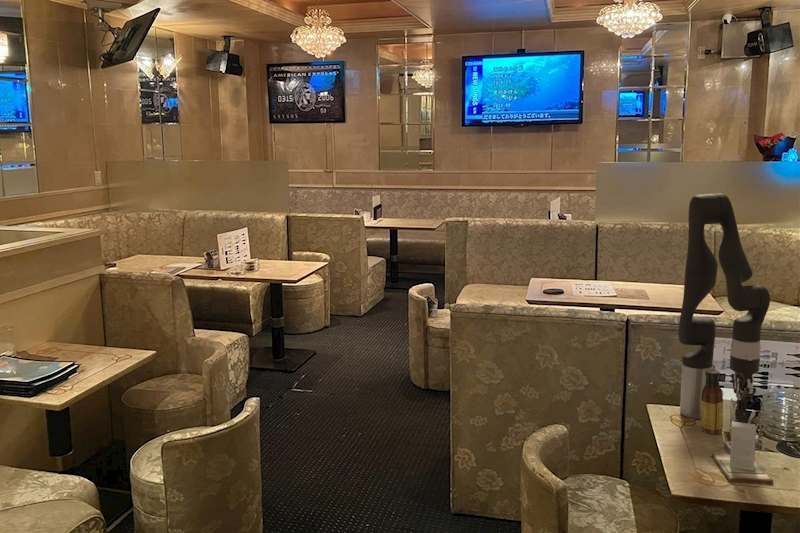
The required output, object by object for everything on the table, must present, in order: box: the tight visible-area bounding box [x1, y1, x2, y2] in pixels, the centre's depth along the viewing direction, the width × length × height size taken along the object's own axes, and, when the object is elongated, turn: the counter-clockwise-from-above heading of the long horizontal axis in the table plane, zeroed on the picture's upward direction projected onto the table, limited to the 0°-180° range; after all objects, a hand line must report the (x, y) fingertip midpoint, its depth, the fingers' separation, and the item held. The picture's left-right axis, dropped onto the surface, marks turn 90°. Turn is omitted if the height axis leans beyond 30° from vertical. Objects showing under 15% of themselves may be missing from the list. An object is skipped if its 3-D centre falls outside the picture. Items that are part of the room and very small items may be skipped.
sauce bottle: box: [700, 368, 724, 435], centre depth 208 cm, size 7×6×20 cm
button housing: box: [723, 441, 731, 454], centre depth 194 cm, size 6×6×2 cm
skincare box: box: [730, 421, 757, 471], centre depth 183 cm, size 6×4×12 cm
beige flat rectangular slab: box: [710, 453, 774, 485], centre depth 184 cm, size 15×11×1 cm
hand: (741, 411), depth 193 cm, fingers closed
